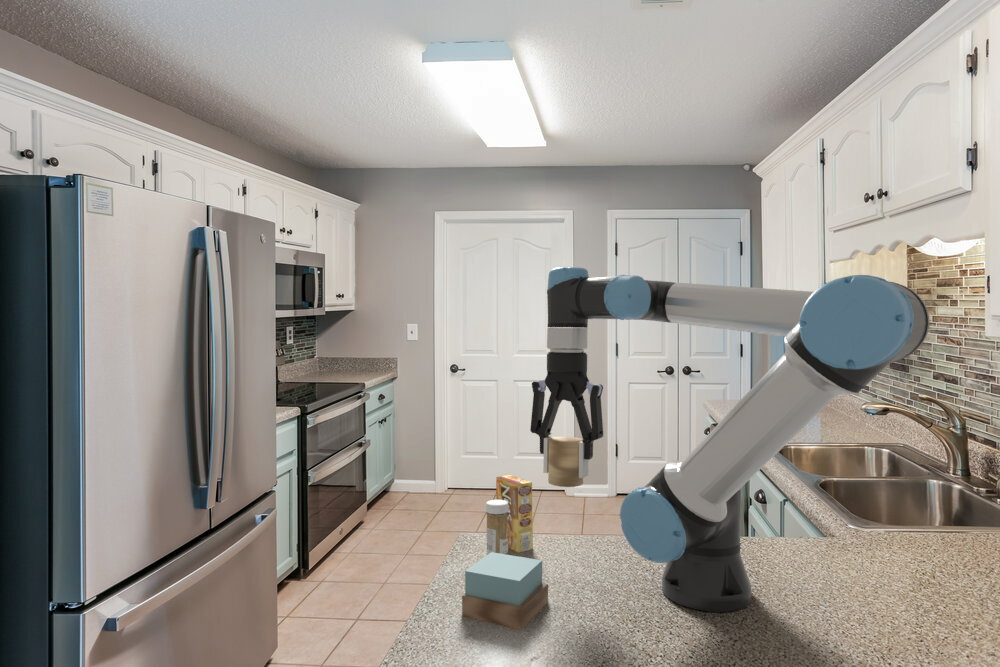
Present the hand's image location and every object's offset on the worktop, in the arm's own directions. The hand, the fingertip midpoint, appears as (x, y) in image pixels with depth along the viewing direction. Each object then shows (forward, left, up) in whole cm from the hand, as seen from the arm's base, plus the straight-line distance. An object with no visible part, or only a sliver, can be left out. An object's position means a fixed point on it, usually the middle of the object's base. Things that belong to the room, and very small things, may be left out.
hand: (565, 473), depth 115 cm
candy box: (+18, -15, -22) cm, 32 cm away
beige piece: (0, 0, -2) cm, 2 cm away
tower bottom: (+6, +13, -22) cm, 26 cm away
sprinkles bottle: (+16, -3, -21) cm, 27 cm away
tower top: (+6, +13, -18) cm, 23 cm away
